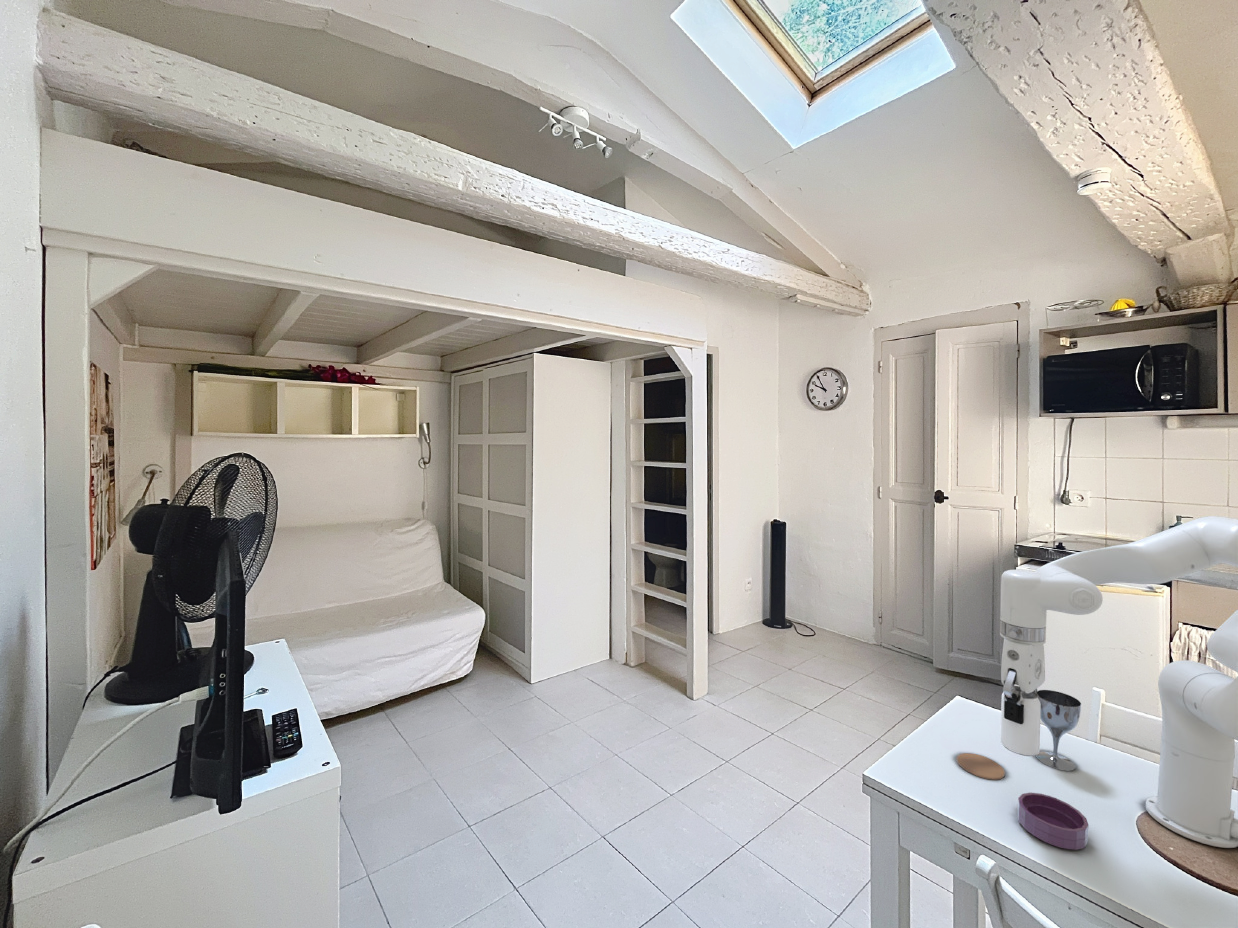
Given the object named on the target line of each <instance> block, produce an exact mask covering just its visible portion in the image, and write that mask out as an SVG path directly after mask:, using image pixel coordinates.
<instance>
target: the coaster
mask: <svg viewBox="0 0 1238 928" xmlns="http://www.w3.org/2000/svg"><path fill="white" fill-rule="evenodd" d="M956 762H957V764H958V766H959V767H960V768H961V769H962V770H964V771H966V772H967V773H968V774H971V775H973V776H976V777H978V778H982V779H987V780H993V781H994V780H1001V779H1003V778H1004V777H1005V775H1006V772H1005V769H1004V767H1002V766H1001V765H1000V764H999V763H998V762H996V761H995V760H993V759H991V758H989V757H986V756H984V755H979V754H976V753H971V752H964V753H960V754H958V755H957V757H956Z"/></svg>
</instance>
